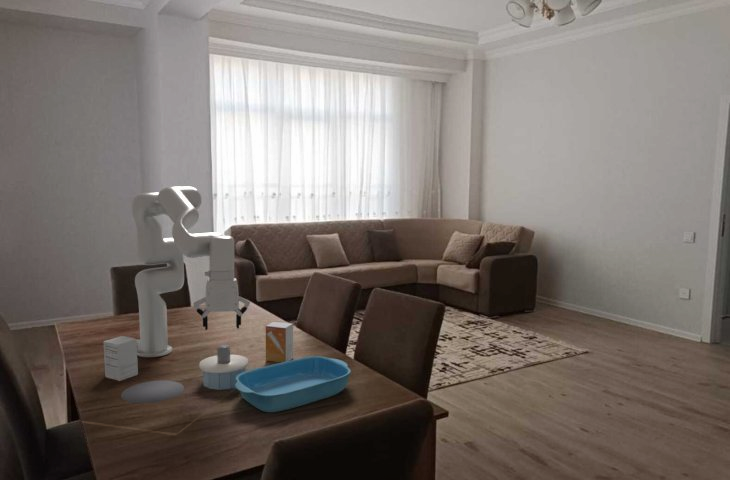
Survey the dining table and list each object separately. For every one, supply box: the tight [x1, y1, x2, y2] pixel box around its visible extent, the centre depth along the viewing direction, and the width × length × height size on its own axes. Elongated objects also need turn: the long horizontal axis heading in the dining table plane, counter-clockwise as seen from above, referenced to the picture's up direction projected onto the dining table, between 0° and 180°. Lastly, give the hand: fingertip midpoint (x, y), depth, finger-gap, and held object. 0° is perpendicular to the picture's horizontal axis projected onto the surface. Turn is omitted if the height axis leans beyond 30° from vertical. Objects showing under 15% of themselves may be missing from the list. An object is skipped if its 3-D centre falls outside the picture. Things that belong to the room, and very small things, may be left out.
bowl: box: [202, 367, 246, 391], centre depth 179 cm, size 13×13×6 cm
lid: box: [199, 344, 249, 373], centre depth 178 cm, size 15×15×6 cm
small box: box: [265, 321, 294, 363], centre depth 202 cm, size 8×6×13 cm
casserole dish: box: [235, 355, 352, 413], centre depth 170 cm, size 37×22×7 cm, turn 128°
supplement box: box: [103, 335, 139, 382], centre depth 183 cm, size 7×7×13 cm
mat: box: [120, 380, 185, 404], centre depth 171 cm, size 18×18×1 cm
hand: (222, 328), depth 178 cm, fingers open, 9 cm apart
